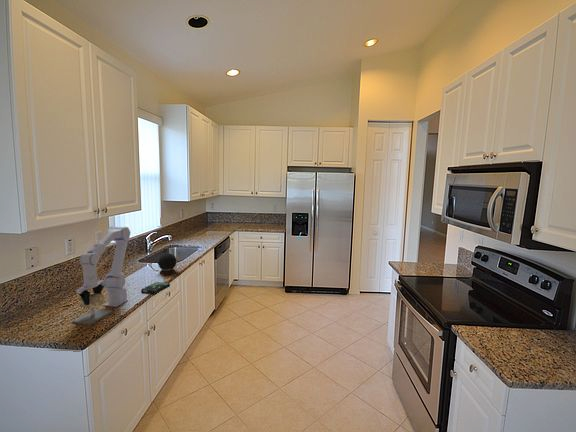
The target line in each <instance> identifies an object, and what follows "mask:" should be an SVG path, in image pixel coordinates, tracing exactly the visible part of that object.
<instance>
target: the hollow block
mask: <svg viewBox="0 0 576 432" xmlns="http://www.w3.org/2000/svg"><path fill="white" fill-rule="evenodd" d="M104 297H105V295H104V293H101V294H97V293H94V292H91V293H90V297H89V305H85V304H84V302H83V300H82V298H81V296H80V295H79V296H78V300H79V301H78V302H79V307H83V308H91V309H92V308H94V309H97V307H98V308H99V307H100V306H102V305H104V304H105V298H104Z"/></svg>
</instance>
